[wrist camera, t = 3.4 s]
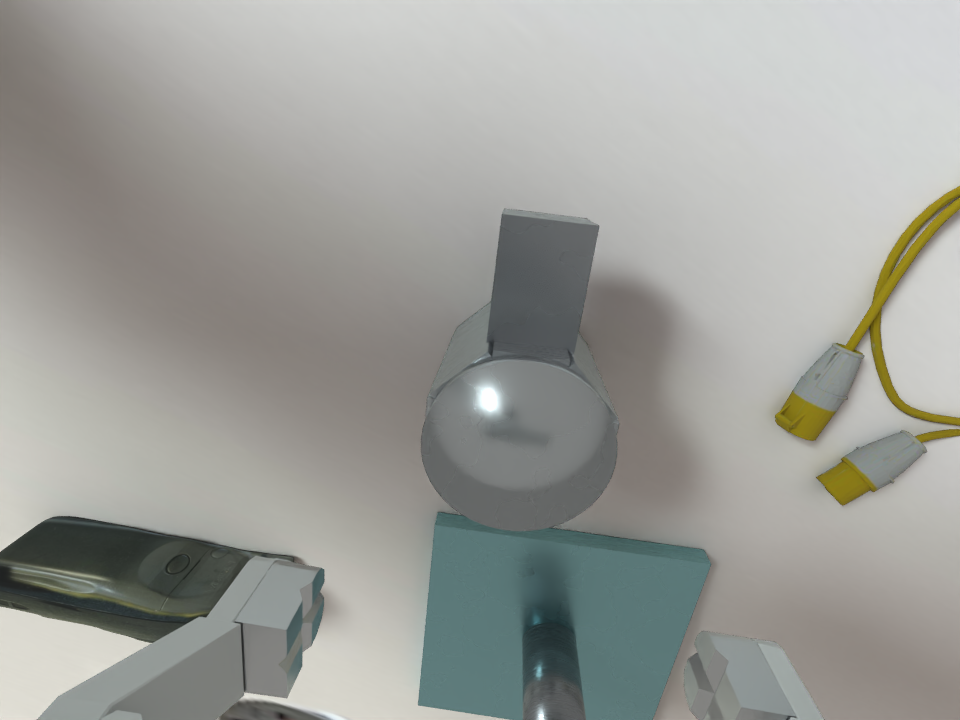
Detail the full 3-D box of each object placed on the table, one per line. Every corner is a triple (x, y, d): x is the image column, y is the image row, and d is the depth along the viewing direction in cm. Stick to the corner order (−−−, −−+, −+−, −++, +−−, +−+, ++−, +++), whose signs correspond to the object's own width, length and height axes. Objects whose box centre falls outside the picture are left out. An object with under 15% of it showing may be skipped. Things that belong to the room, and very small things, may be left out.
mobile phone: (-33, 616, 24) (251, 666, 23) (-52, 571, 23) (246, 622, 22) (58, 545, 28) (297, 584, 28) (46, 504, 27) (295, 544, 27)
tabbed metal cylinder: (467, 199, 19) (437, 211, 12) (615, 216, 19) (672, 239, 12) (447, 412, 23) (415, 517, 16) (571, 428, 22) (595, 543, 15)
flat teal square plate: (438, 512, 25) (412, 619, 19) (703, 549, 24) (764, 671, 18) (421, 689, 30) (396, 817, 24) (640, 722, 30) (672, 862, 24)
